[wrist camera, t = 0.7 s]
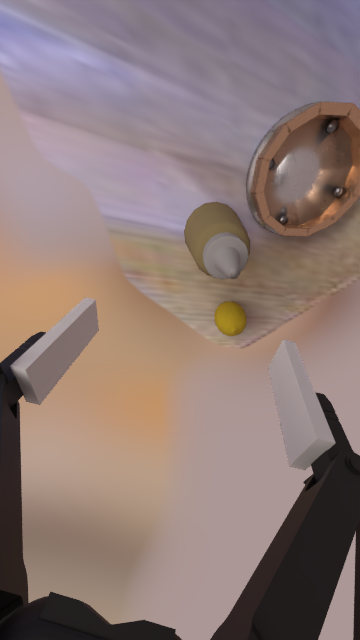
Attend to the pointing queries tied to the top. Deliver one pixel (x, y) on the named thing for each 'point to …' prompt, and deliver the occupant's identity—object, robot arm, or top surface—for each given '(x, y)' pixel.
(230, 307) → the lemon
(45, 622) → the robot arm
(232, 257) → the squeeze bottle
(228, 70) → the top surface
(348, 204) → the flange seat
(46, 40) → the top surface
